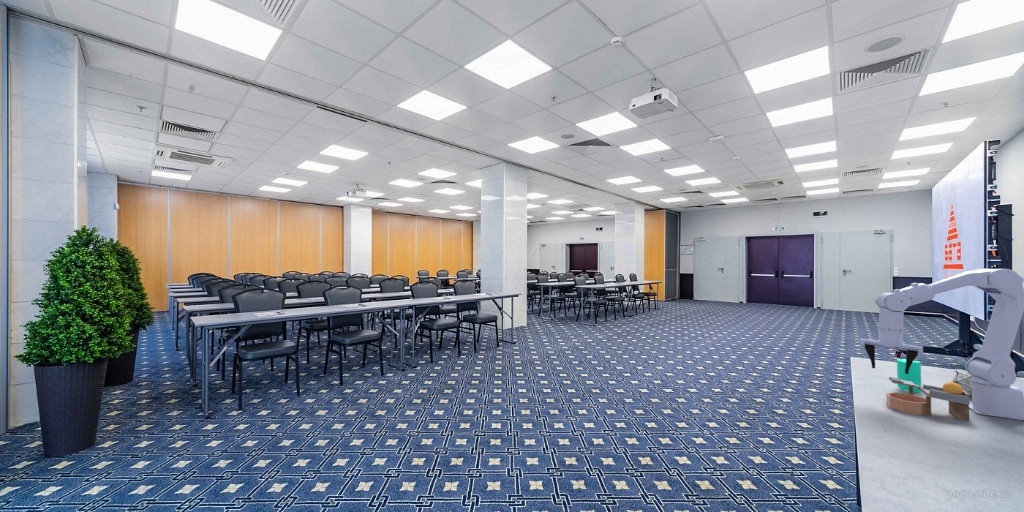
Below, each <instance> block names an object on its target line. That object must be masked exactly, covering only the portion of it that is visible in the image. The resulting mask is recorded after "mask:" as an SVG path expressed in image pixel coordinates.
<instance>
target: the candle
mask: <svg viewBox="0 0 1024 512" xmlns="http://www.w3.org/2000/svg"><path fill="white" fill-rule="evenodd" d="M921 363H922V362H921V361H919V360H914V361H913V362H912V364H911V366H910V369H909V372H908V374H905V367H906V358H903V359H902V358H897V359H896V376H897V377H896V378H899V379H901V380H905V381H912V382H913V383H914V384H915V385H919V386H920V387H922V364H921ZM896 385H897V388H898V387H899V388H900V389H899V390H901V389H903V390H902V391H904V390H907V391H906V392H909V386H905V385H900V384H896ZM913 393H922V392H921V391H920V390H918V389H917V388H916V387H913Z"/></svg>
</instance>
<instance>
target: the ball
mask: <svg viewBox="0 0 1024 512" xmlns="http://www.w3.org/2000/svg"><path fill="white" fill-rule="evenodd" d="M942 388H943V390H944V392H947V393H952V394H957V395H961V394H962V393H963V389H962V387H961V386H960V385H958V384H956V383H953V382H952V381H951V382H945V383H944V384H943V385H942Z"/></svg>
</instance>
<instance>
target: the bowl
mask: <svg viewBox="0 0 1024 512" xmlns="http://www.w3.org/2000/svg"><path fill="white" fill-rule="evenodd" d="M885 397H886V405H887V406H888V408H890V409H892V410H896V411H898V412H902V413H905V414H913V415H919V416H925V415H926V416H927V413H926V397H921V396H919V395H914V394H913V395H911V394H909V393H902V392H886V396H885Z"/></svg>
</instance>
